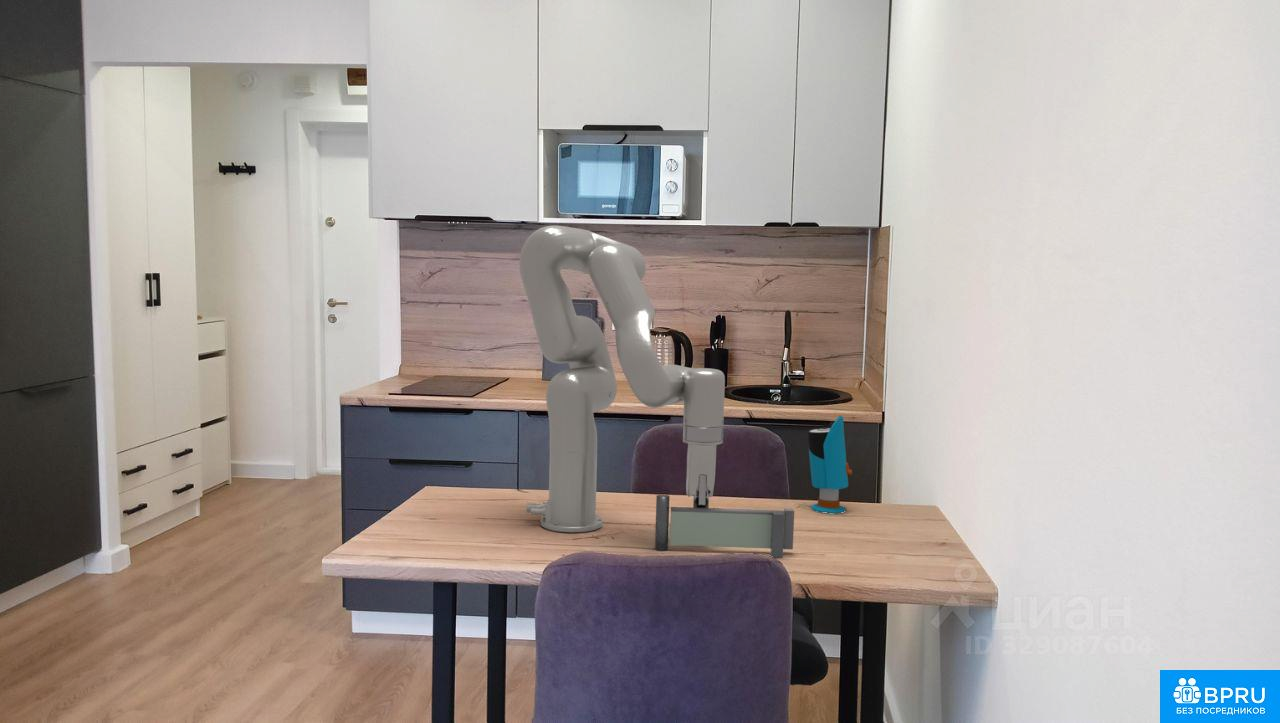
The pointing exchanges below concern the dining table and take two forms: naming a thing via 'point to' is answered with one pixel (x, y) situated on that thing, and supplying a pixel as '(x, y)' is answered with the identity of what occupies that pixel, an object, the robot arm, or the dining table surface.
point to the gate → (727, 527)
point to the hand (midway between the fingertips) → (700, 530)
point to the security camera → (828, 465)
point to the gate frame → (663, 528)
